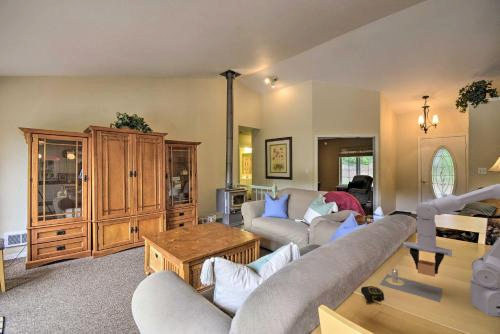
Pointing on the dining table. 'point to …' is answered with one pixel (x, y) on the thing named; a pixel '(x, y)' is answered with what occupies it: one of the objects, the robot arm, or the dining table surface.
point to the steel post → (394, 275)
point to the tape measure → (372, 294)
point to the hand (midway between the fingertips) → (427, 270)
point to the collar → (426, 268)
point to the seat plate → (413, 288)
